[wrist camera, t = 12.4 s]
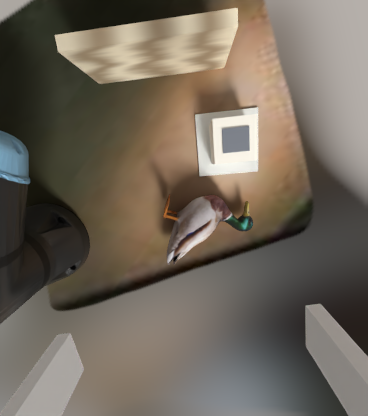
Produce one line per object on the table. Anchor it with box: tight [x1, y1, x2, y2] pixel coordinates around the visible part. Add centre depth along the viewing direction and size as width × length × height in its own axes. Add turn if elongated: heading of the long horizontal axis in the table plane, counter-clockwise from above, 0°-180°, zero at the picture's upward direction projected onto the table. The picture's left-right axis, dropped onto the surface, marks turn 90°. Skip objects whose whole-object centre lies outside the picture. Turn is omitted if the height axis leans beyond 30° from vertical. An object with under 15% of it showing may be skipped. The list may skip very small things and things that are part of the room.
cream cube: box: [209, 114, 258, 164], centre depth 30 cm, size 6×6×6 cm
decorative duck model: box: [163, 194, 253, 265], centre depth 33 cm, size 15×8×15 cm
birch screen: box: [55, 8, 238, 84], centre depth 26 cm, size 20×2×10 cm, turn 95°
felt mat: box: [195, 107, 258, 176], centre depth 33 cm, size 10×10×1 cm
